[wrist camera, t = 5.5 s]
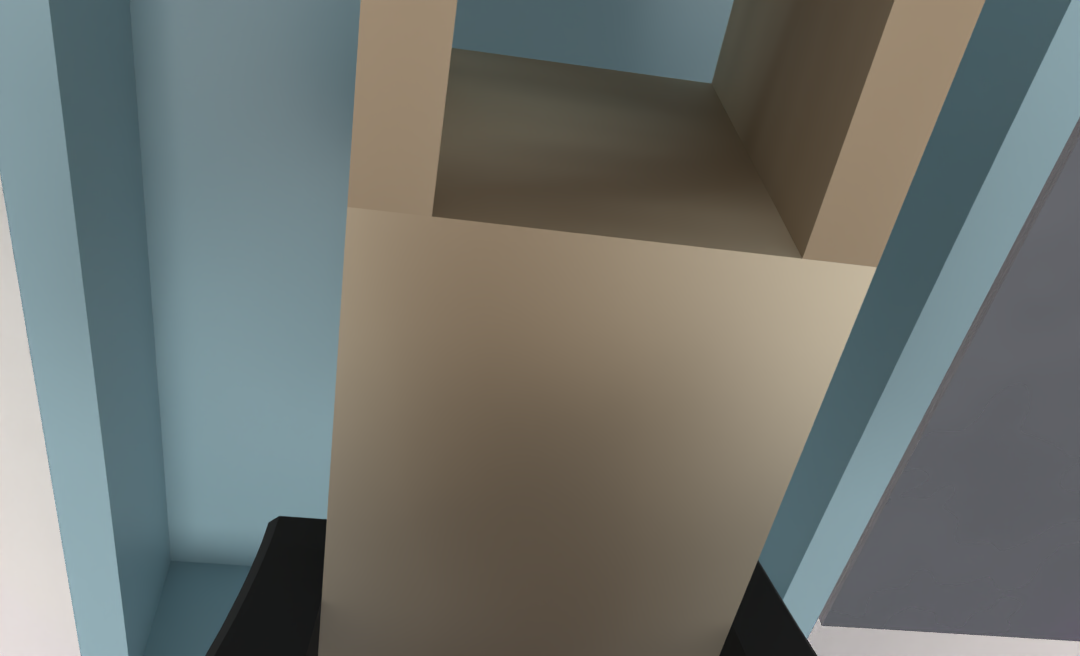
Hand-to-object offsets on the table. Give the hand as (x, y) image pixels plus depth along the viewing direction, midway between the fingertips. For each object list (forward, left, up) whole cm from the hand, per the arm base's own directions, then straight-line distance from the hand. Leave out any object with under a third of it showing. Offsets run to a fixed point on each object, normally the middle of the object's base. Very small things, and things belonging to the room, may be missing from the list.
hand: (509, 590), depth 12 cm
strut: (+2, 0, -2) cm, 3 cm away
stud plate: (-2, -17, -7) cm, 19 cm away
